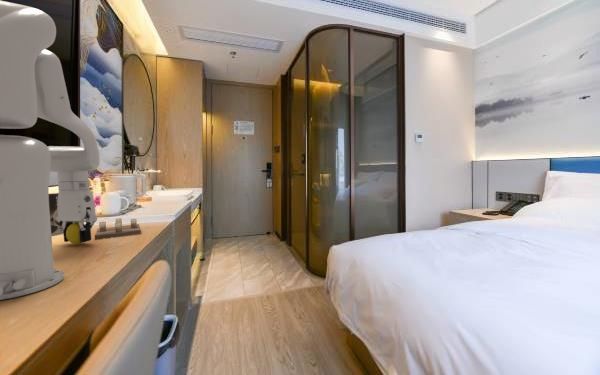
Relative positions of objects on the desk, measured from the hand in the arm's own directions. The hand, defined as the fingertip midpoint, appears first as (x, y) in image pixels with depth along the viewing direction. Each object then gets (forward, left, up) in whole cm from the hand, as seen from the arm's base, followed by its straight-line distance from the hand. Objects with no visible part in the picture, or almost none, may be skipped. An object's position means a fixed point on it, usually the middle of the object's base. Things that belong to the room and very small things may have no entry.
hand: (77, 240), depth 84 cm
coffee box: (+28, +9, -2) cm, 29 cm away
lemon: (0, 0, -2) cm, 2 cm away
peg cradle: (+12, -11, -1) cm, 16 cm away
